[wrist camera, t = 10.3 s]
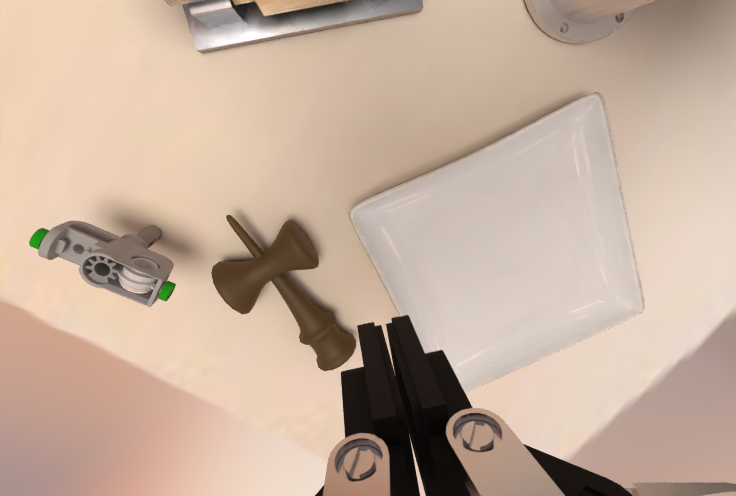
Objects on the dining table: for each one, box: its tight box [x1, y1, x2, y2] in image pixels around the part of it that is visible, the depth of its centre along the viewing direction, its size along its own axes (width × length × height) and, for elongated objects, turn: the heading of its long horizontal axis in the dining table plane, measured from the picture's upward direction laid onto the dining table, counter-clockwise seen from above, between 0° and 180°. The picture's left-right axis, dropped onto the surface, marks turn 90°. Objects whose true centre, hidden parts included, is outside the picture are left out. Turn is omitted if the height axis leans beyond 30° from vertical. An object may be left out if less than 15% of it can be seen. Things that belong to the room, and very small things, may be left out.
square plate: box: [349, 92, 644, 392], centre depth 42 cm, size 27×27×4 cm
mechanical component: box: [29, 221, 176, 307], centre depth 34 cm, size 3×10×10 cm, turn 60°
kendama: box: [212, 215, 356, 371], centre depth 40 cm, size 6×10×20 cm
